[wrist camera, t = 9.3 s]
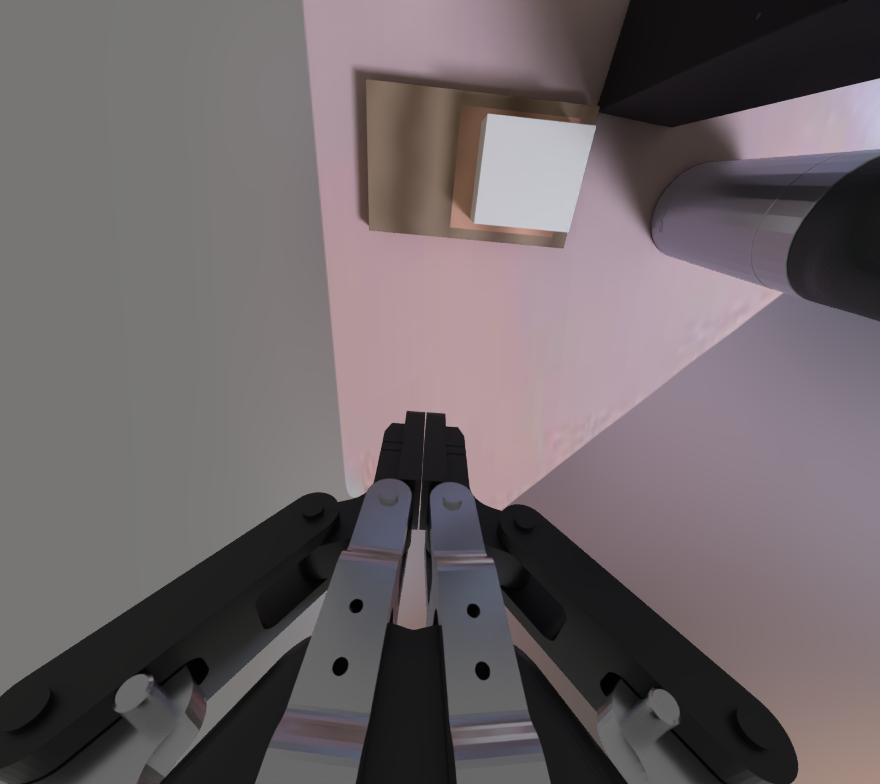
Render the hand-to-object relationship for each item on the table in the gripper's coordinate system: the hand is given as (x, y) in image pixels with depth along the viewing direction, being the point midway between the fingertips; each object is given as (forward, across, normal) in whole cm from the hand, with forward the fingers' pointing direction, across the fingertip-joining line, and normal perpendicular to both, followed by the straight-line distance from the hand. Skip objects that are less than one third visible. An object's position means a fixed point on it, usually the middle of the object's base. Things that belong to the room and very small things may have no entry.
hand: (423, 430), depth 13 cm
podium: (+31, -4, -9) cm, 32 cm away
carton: (+29, -8, -9) cm, 32 cm away
